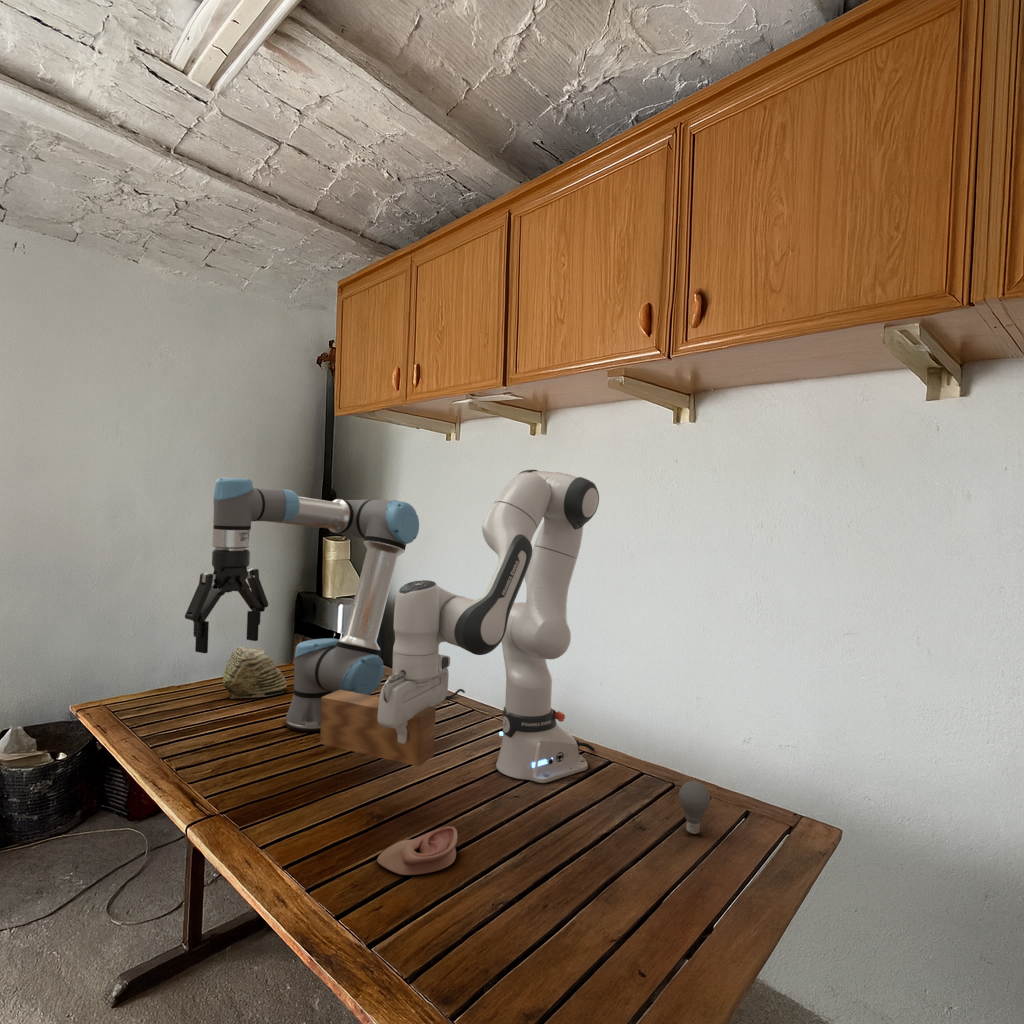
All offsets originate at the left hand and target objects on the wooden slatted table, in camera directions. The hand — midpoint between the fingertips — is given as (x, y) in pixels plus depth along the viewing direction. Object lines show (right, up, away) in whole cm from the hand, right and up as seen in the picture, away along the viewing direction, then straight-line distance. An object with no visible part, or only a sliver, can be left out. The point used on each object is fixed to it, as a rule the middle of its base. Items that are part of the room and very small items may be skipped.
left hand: (227, 646), depth 138 cm
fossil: (-19, -28, +60) cm, 69 cm away
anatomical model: (+45, -32, -26) cm, 61 cm away
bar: (+35, -18, -11) cm, 41 cm away
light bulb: (+98, -35, -13) cm, 105 cm away
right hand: (+43, -14, -15) cm, 48 cm away
